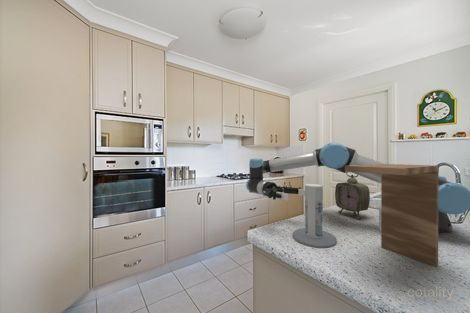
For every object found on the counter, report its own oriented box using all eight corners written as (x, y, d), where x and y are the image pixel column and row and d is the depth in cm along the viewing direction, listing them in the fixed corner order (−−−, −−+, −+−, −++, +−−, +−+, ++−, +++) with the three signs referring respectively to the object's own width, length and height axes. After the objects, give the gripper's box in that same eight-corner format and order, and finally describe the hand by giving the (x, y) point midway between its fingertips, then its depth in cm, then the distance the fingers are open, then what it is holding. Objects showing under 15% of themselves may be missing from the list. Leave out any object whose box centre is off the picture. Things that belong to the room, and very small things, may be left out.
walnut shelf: (383, 246, 70) (383, 163, 70) (438, 265, 58) (438, 165, 58) (344, 265, 58) (344, 165, 58) (403, 294, 46) (403, 168, 46)
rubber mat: (331, 232, 82) (331, 230, 82) (341, 250, 67) (341, 247, 67) (292, 228, 87) (292, 226, 87) (293, 244, 71) (293, 242, 71)
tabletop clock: (335, 213, 110) (335, 168, 110) (346, 211, 114) (346, 168, 114) (360, 221, 97) (360, 170, 97) (371, 218, 100) (372, 170, 100)
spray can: (308, 231, 81) (308, 183, 81) (324, 235, 77) (324, 184, 77) (302, 236, 76) (302, 185, 76) (320, 240, 72) (320, 186, 72)
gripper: (285, 193, 107) (318, 200, 89) (247, 198, 95) (277, 208, 76) (285, 179, 107) (318, 184, 89) (247, 183, 95) (277, 189, 76)
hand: (299, 195), depth 83 cm, fingers open, 13 cm apart
